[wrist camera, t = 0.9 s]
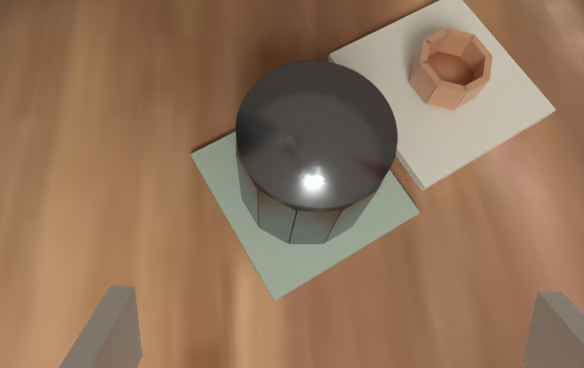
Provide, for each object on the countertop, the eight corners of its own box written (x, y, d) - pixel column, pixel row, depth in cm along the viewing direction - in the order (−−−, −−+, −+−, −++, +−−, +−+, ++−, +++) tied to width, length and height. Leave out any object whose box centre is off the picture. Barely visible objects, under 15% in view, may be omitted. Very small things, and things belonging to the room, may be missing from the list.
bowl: (396, 70, 44) (407, 47, 41) (447, 44, 45) (462, 19, 42) (435, 121, 42) (450, 102, 39) (487, 92, 44) (505, 71, 40)
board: (327, 60, 45) (328, 54, 44) (452, -1, 48) (455, -8, 47) (421, 191, 41) (425, 187, 40) (549, 114, 44) (556, 109, 43)
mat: (191, 157, 41) (190, 154, 40) (328, 87, 44) (329, 83, 43) (274, 301, 37) (274, 300, 37) (417, 214, 40) (419, 212, 40)
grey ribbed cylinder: (219, 161, 40) (206, 102, 31) (323, 108, 42) (340, 37, 33) (282, 268, 37) (289, 238, 28) (390, 204, 40) (429, 157, 30)
